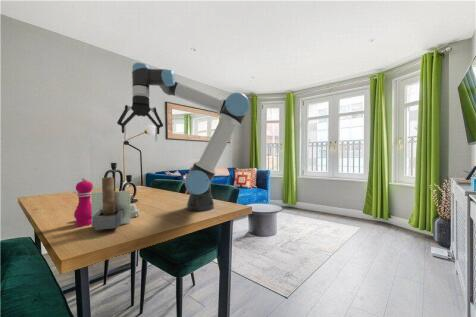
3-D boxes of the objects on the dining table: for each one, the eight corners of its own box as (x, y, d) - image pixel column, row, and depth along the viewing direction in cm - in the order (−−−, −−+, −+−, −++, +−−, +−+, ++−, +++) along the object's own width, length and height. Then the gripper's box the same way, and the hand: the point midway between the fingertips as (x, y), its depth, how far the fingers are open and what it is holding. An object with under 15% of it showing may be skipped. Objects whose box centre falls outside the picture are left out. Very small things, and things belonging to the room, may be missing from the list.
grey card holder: (130, 222, 93) (130, 190, 93) (127, 231, 82) (127, 195, 82) (92, 226, 88) (92, 192, 88) (84, 236, 77) (83, 197, 77)
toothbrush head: (79, 211, 97) (138, 200, 105) (81, 225, 98) (140, 213, 105) (74, 214, 92) (136, 202, 100) (76, 229, 93) (138, 216, 100)
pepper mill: (71, 227, 86) (71, 178, 86) (77, 222, 93) (76, 177, 93) (92, 225, 89) (92, 177, 89) (96, 220, 96) (96, 176, 95)
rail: (115, 221, 86) (114, 177, 86) (114, 224, 83) (113, 178, 82) (104, 222, 85) (103, 177, 84) (102, 225, 81) (101, 178, 81)
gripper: (167, 101, 111) (167, 141, 111) (112, 96, 102) (113, 140, 102) (168, 97, 104) (168, 140, 105) (110, 91, 95) (110, 139, 95)
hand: (141, 140), depth 103 cm, fingers open, 13 cm apart
